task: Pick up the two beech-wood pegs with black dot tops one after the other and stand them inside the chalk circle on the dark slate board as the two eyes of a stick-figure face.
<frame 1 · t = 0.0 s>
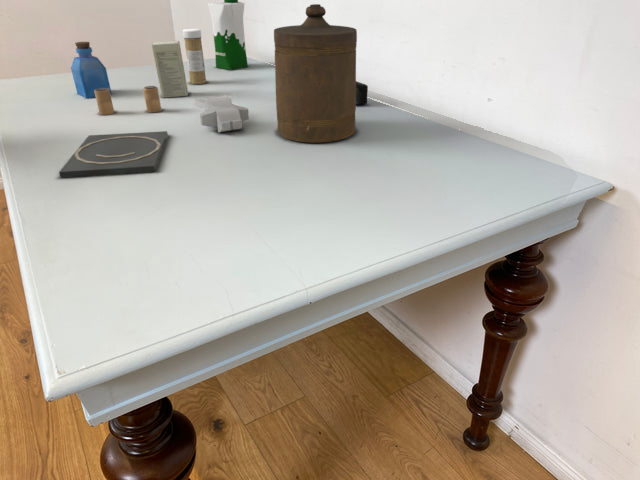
slate board: (119, 154, 82), on the table
perfume bottle: (94, 94, 120), on the table
peg right: (154, 110, 106), on the table
peg left: (107, 113, 105), on the table
cosmetic box: (174, 95, 118), on the table
sprinkles bottle: (198, 83, 130), on the table
grey angular block: (222, 125, 97), on the table
milk carton: (231, 67, 149), on the table
mobile phone: (343, 100, 114), on the table
wooden container: (316, 132, 93), on the table
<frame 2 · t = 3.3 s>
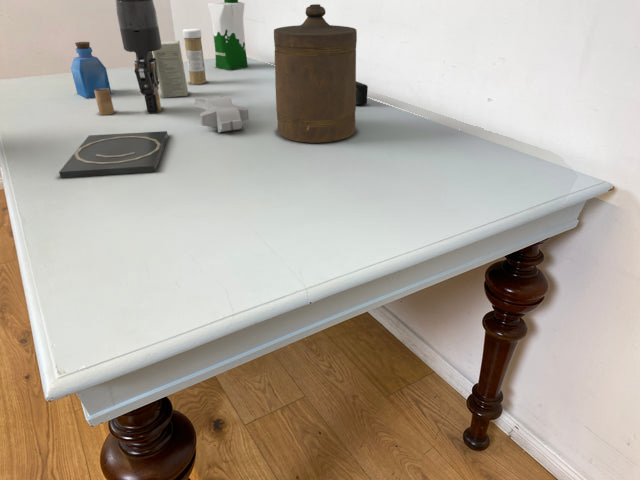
hand: (154, 109, 106), 0 cm above the table, tool pointing down, fingers closed on peg right, 3 cm apart
peg right: (154, 110, 106), on the table, touching gripper
everything else where it was.
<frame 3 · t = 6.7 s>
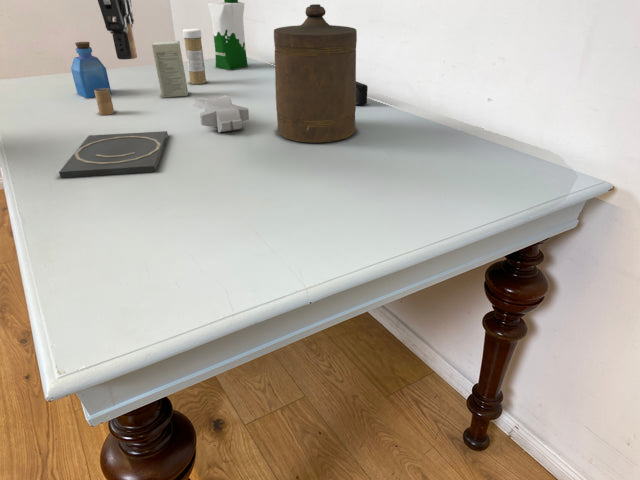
hand: (126, 56, 78), 15 cm above the table, tool pointing down, fingers closed on peg right, 3 cm apart
peg right: (127, 57, 78), point 15 cm above the table, touching gripper
everything else where it was.
when the fingers open (1 cm above the table, at t = 10.1 s): peg right stays where it is, resting on slate board.
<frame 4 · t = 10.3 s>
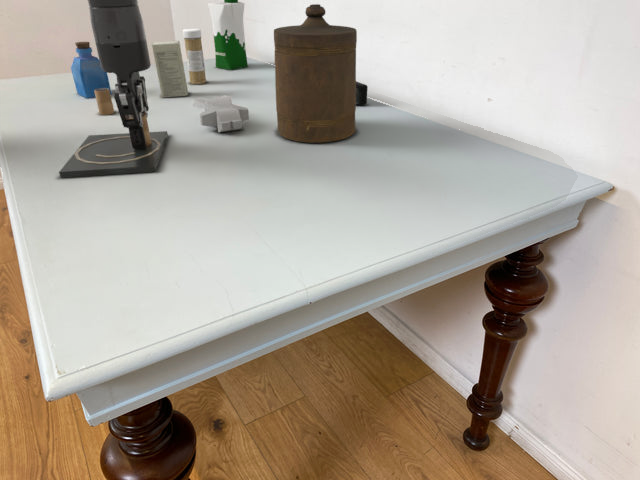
hand: (141, 143, 83), 1 cm above the table, tool pointing down, fingers open, 4 cm apart
peg right: (142, 144, 83), point 1 cm above the table, touching slate board
everything else where it was.
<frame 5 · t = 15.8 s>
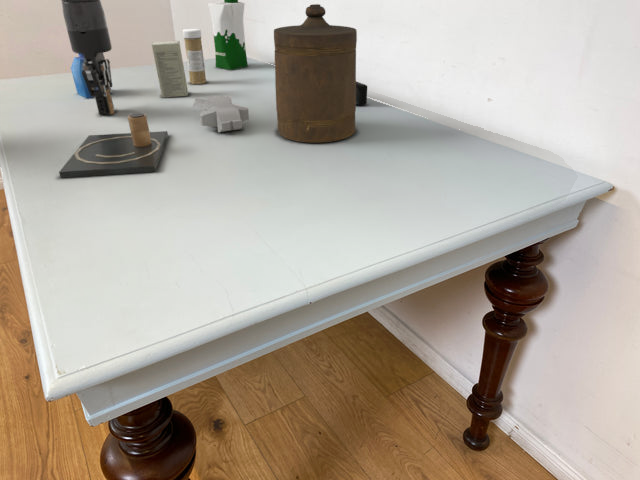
hand: (106, 112, 104), 0 cm above the table, tool pointing down, fingers closed on peg left, 3 cm apart
peg left: (107, 113, 105), on the table, touching gripper
everything else where it was.
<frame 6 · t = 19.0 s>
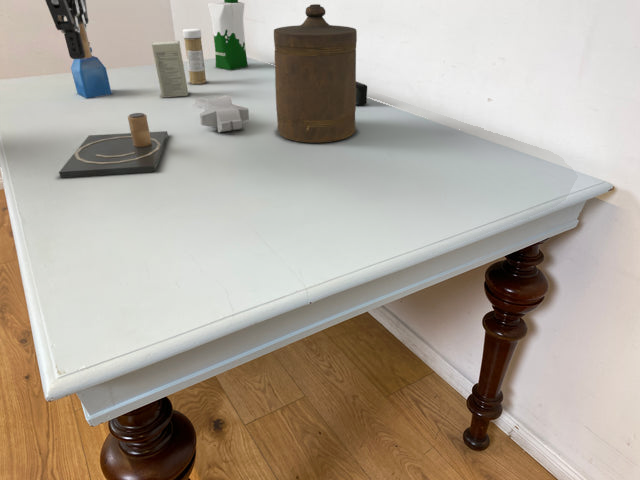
hand: (81, 55, 78), 15 cm above the table, tool pointing down, fingers closed on peg left, 3 cm apart
peg left: (81, 57, 78), point 15 cm above the table, touching gripper
everything else where it was.
when the fingers open (1 cm above the table, at t = 22.6 s): peg left stays where it is, resting on slate board.
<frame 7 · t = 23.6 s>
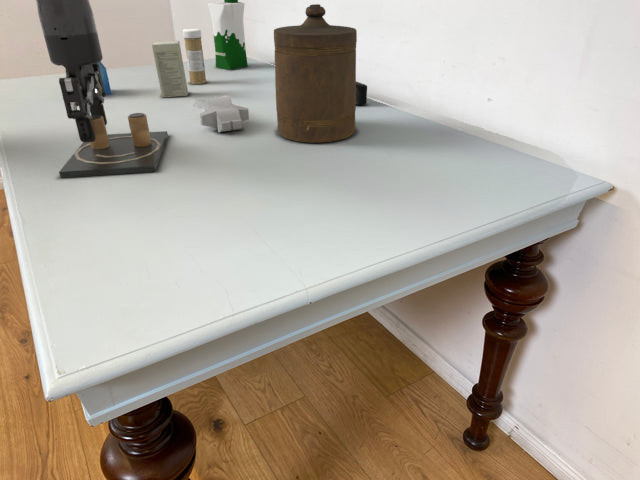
hand: (94, 133, 81), 3 cm above the table, tool pointing down, fingers open, 8 cm apart
peg left: (100, 146, 83), point 1 cm above the table, touching slate board
everything else where it was.
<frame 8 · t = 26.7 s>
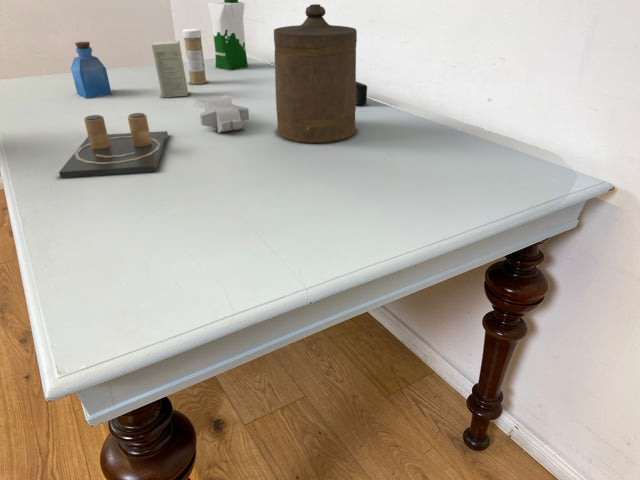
nothing on the table moved.
at the end: peg right 0.2 cm from the target spot on the slate board, point 1.0 cm above the slate board's base; peg left 0.0 cm from the target spot on the slate board, point 1.0 cm above the slate board's base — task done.
